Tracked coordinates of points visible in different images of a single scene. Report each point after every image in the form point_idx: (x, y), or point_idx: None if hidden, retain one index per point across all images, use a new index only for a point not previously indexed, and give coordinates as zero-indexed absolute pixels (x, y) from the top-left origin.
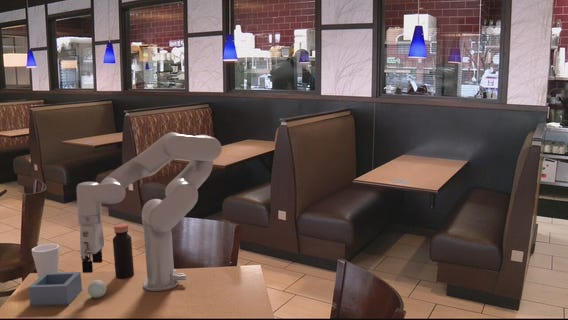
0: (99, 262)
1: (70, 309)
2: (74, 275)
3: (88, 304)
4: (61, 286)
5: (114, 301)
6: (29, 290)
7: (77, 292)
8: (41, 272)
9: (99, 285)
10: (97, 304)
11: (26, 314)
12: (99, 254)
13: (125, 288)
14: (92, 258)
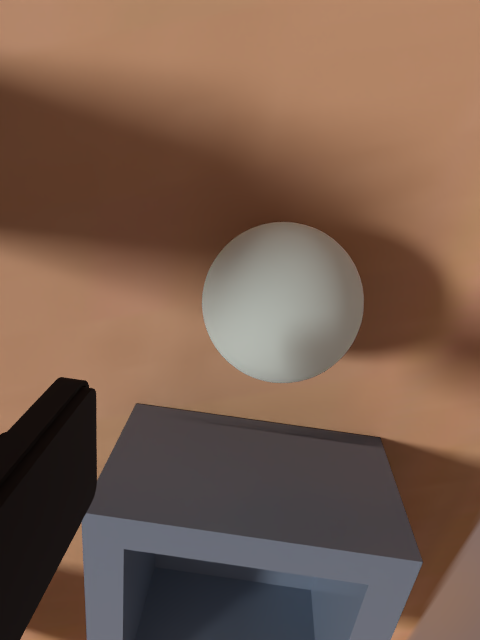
0: (94, 410)
1: (445, 417)
2: (169, 541)
3: (402, 321)
4: (407, 588)
5: (416, 118)
6: None
7: (215, 428)
8: None
9: (342, 288)
10: (428, 256)
11: (421, 597)
12: (18, 512)
13: (131, 62)
14: (60, 549)
